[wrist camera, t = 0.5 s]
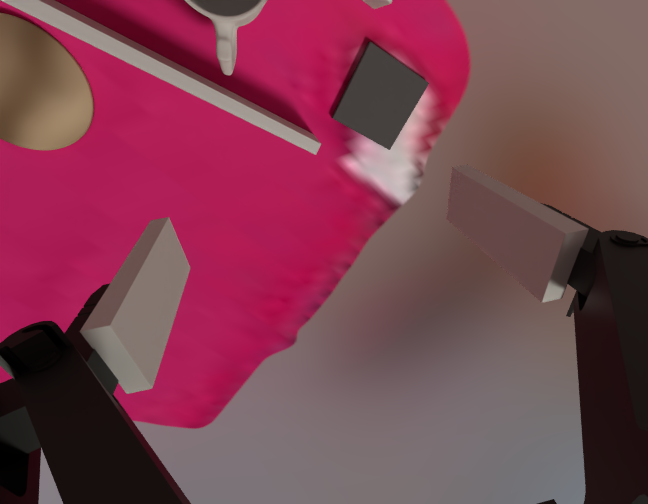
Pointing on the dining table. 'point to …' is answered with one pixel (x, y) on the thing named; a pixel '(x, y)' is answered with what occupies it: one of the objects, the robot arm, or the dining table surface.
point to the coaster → (40, 89)
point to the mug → (228, 24)
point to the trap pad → (379, 97)
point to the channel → (169, 67)
